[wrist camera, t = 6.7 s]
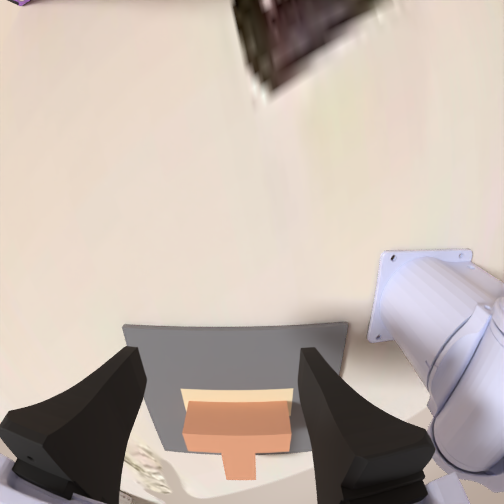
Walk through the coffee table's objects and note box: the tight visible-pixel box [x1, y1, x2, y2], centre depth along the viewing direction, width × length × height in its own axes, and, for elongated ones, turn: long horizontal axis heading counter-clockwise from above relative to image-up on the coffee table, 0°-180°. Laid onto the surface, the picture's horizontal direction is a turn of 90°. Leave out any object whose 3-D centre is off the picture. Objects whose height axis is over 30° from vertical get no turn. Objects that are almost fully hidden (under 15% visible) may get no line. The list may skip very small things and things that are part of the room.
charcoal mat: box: [122, 322, 348, 455], centre depth 25 cm, size 18×18×1 cm
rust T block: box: [182, 401, 292, 480], centre depth 24 cm, size 9×9×4 cm
